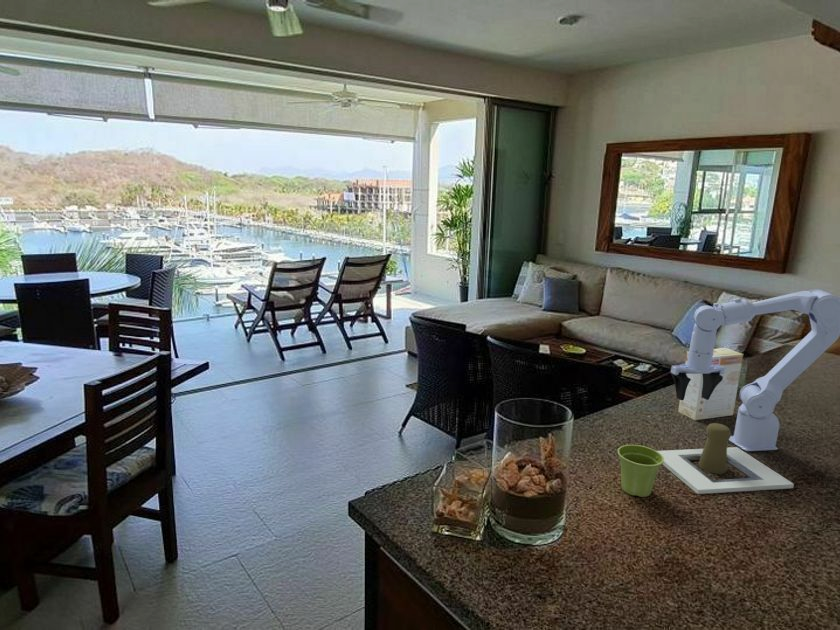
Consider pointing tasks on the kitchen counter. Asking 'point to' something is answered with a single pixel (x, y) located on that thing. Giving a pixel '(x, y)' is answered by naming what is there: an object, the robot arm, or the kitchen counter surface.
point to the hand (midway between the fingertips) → (692, 398)
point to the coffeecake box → (722, 394)
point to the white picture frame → (704, 484)
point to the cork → (715, 449)
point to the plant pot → (639, 469)
